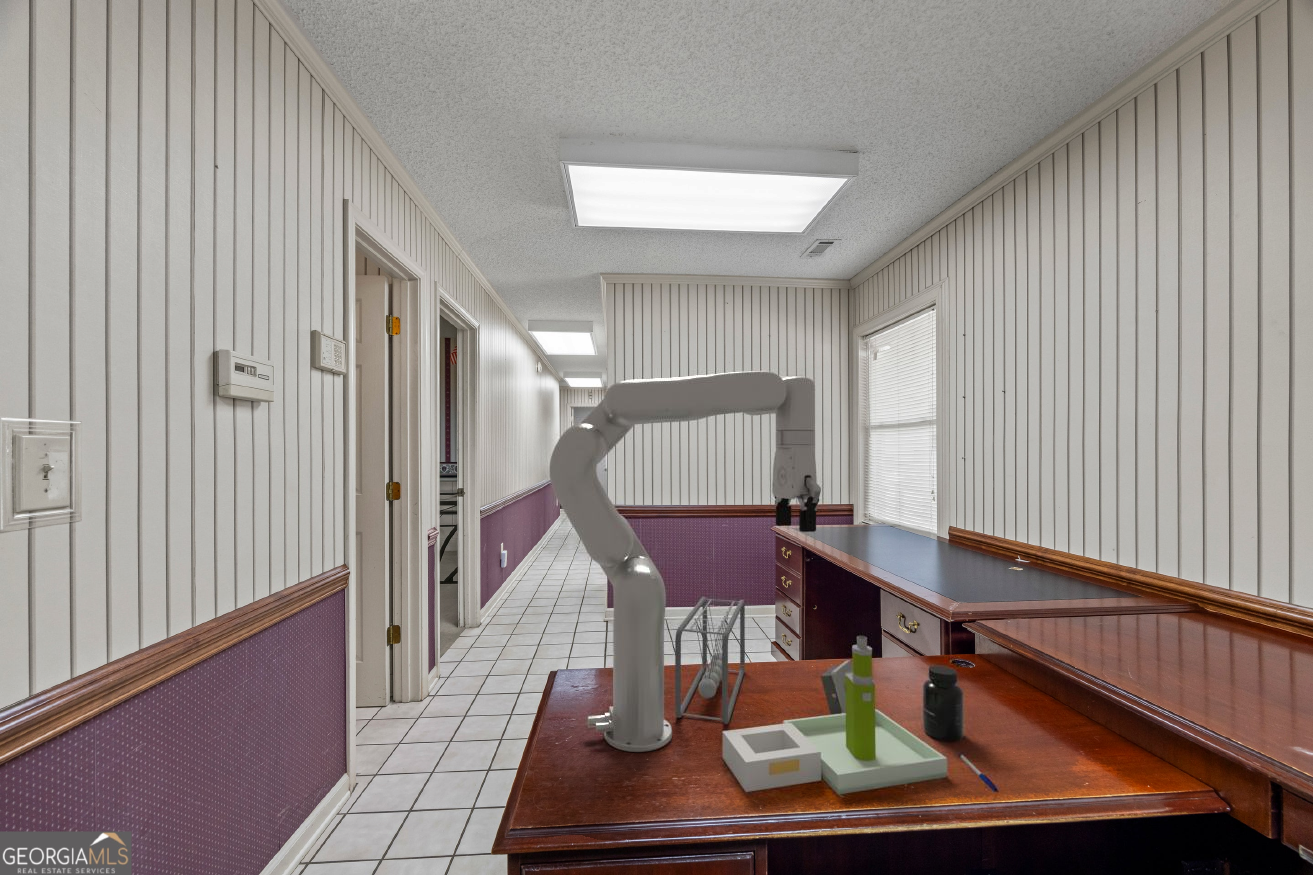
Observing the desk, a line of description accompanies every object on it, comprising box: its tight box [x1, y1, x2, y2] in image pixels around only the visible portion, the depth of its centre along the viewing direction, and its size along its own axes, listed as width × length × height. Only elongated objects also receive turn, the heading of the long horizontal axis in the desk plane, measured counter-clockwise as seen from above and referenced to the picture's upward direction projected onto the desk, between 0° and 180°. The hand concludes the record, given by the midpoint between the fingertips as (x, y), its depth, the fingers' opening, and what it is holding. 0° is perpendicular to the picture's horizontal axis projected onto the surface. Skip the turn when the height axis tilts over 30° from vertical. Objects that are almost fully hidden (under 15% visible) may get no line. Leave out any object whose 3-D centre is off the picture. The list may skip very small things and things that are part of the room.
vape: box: [845, 635, 876, 761], centre depth 95 cm, size 4×6×20 cm, turn 3°
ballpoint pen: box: [958, 752, 998, 792], centre depth 90 cm, size 10×1×1 cm, turn 1°
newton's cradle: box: [674, 596, 746, 725], centre depth 121 cm, size 30×10×18 cm, turn 164°
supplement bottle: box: [922, 664, 965, 743], centre depth 103 cm, size 7×7×12 cm
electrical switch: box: [820, 659, 853, 715], centre depth 113 cm, size 9×5×9 cm, turn 141°
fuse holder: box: [722, 723, 822, 793], centre depth 91 cm, size 13×10×4 cm
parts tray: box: [782, 708, 948, 796], centre depth 95 cm, size 20×18×3 cm
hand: (795, 528), depth 107 cm, fingers open, 9 cm apart
